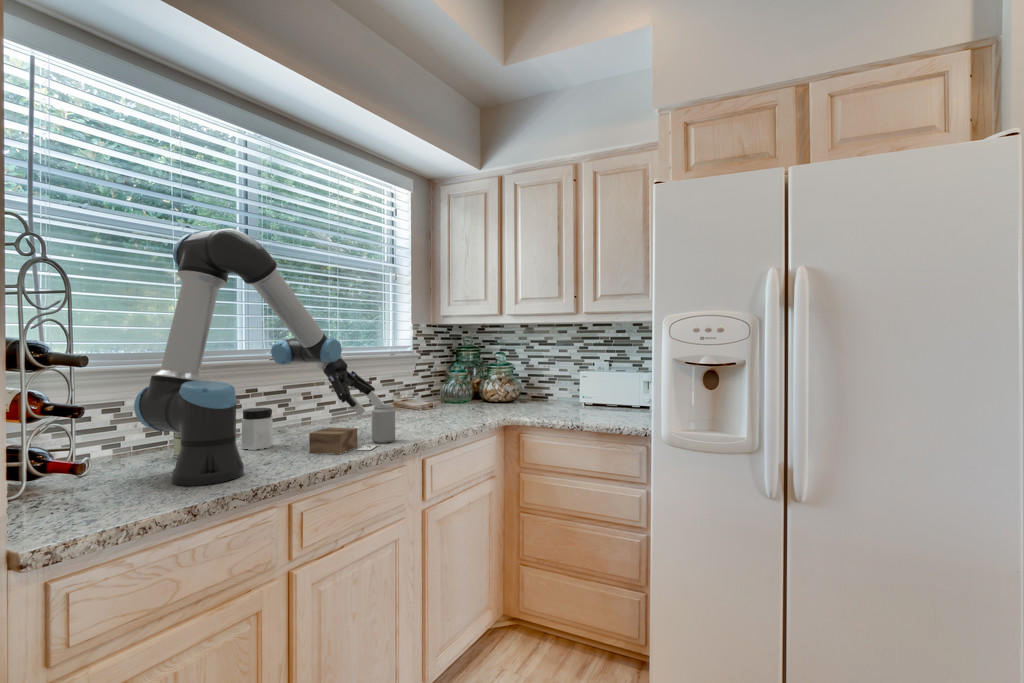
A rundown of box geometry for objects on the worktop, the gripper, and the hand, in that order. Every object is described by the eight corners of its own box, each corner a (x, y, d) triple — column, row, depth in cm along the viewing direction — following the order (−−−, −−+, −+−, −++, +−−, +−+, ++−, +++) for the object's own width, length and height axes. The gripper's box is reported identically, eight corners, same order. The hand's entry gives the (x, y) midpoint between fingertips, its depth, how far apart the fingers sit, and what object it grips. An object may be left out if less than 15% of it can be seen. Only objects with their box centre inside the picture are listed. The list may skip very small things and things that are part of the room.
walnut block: (339, 454, 149) (339, 434, 149) (309, 453, 151) (309, 432, 151) (357, 447, 159) (357, 428, 159) (328, 446, 161) (328, 427, 161)
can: (399, 440, 171) (399, 404, 171) (388, 444, 163) (388, 407, 163) (378, 439, 172) (378, 403, 172) (367, 443, 165) (367, 406, 165)
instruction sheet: (370, 450, 154) (370, 450, 154) (354, 450, 154) (354, 449, 154) (379, 445, 162) (379, 444, 162) (364, 445, 162) (364, 444, 162)
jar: (246, 451, 154) (245, 412, 154) (238, 447, 159) (237, 409, 159) (277, 447, 160) (276, 409, 160) (268, 443, 166) (267, 406, 166)
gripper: (344, 369, 186) (382, 411, 183) (302, 374, 161) (345, 423, 158) (357, 355, 184) (395, 397, 182) (317, 358, 160) (361, 407, 157)
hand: (372, 409), depth 170 cm, fingers open, 13 cm apart
